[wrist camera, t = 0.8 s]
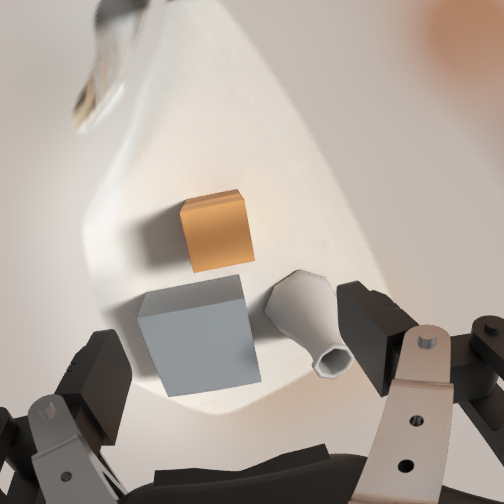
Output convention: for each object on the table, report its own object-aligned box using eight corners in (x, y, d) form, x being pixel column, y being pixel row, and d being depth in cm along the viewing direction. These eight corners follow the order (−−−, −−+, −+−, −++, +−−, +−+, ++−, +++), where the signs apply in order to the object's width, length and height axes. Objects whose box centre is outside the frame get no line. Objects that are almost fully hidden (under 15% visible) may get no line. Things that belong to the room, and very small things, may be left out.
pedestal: (146, 292, 29) (136, 318, 24) (239, 274, 30) (244, 298, 25) (172, 365, 32) (168, 396, 27) (254, 351, 33) (261, 381, 28)
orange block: (186, 199, 27) (179, 212, 21) (237, 189, 27) (244, 199, 22) (196, 248, 28) (193, 272, 23) (246, 238, 29) (255, 260, 23)
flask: (302, 344, 33) (332, 408, 24) (250, 312, 31) (267, 377, 22) (347, 294, 32) (393, 347, 22) (298, 255, 30) (335, 303, 20)
